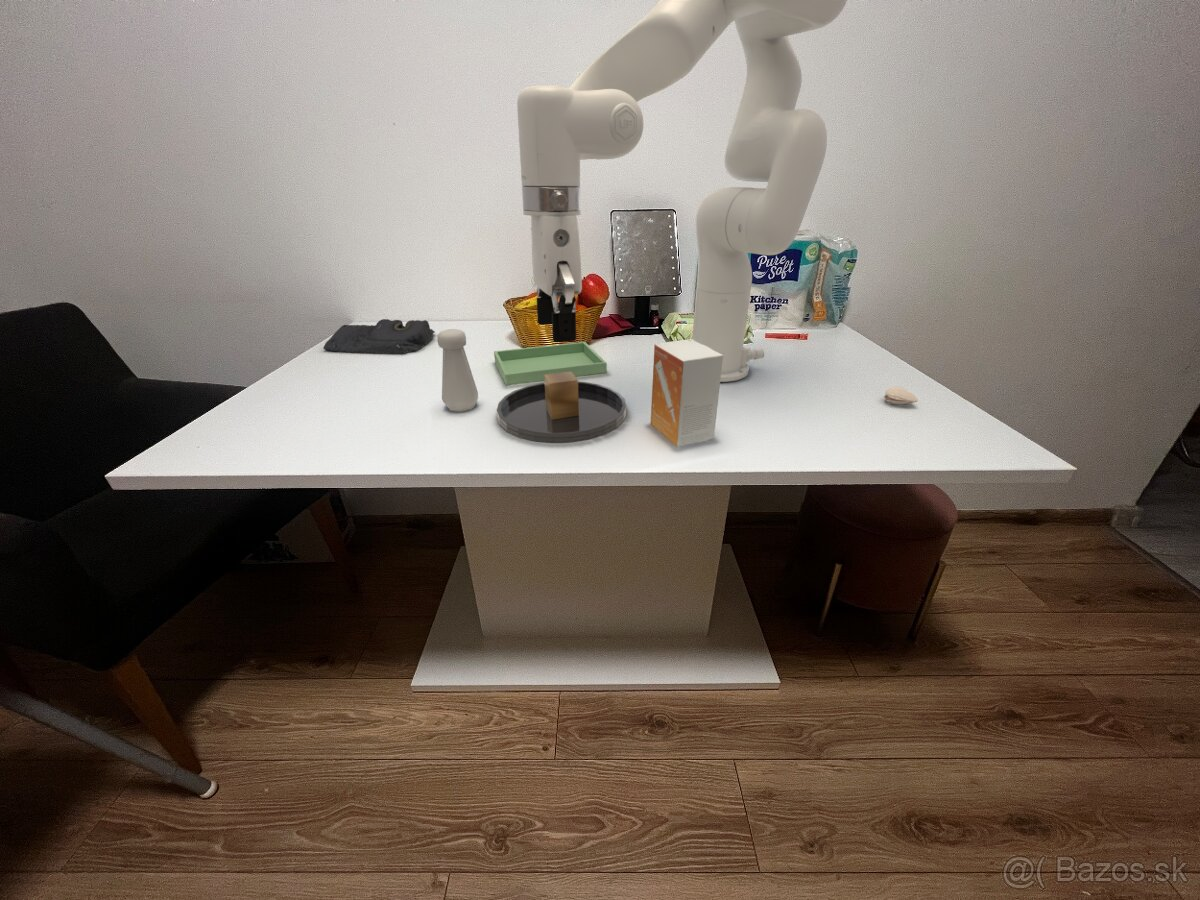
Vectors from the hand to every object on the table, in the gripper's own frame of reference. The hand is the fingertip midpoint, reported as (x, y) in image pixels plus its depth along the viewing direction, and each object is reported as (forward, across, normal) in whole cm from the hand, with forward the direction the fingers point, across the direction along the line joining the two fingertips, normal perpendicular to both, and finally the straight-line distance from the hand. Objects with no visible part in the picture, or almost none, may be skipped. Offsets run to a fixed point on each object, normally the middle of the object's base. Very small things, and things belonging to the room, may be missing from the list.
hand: (556, 332), depth 75 cm
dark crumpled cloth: (+14, +52, +28) cm, 61 cm away
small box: (+14, -12, -16) cm, 24 cm away
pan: (+14, 0, -1) cm, 14 cm away
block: (+13, 0, -1) cm, 13 cm away
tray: (+13, +22, -4) cm, 26 cm away
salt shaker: (+14, +8, +14) cm, 22 cm away
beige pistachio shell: (+13, -14, -55) cm, 58 cm away
